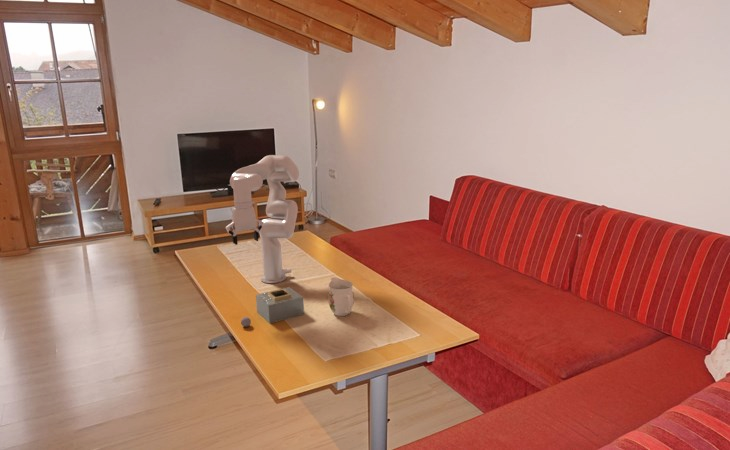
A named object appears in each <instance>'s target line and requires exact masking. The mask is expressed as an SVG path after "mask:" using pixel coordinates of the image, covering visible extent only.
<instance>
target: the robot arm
mask: <svg viewBox="0 0 730 450" xmlns="http://www.w3.org/2000/svg"><path fill="white" fill-rule="evenodd" d="M299 176H300V171H299V169H298V166H297V165H296V164H295V162H294V161H293V159H291V158H290V157H289V156H287V155H285V154H284V155H283V154H280V155H279V154H277V155H276V154H269V155H266V156H264V157H263V158H262V159H260V160H259V161H258V162H256V163H254V164H250V165H247V166H243V167H241V168H238V169H237V170H235V171H234V172H233V173H232V174H231V176H230V179H229V185H230V187H231V188H232V189H233V202H234V203H233V204H234V208H232V214H231V223H229V224H228V225H226V226H225V227H224V229H226V231H227V233H228V234H229V235H231V238H232V243H233V244H234V245H235V246H237V245H239V244H238V236H237V234H238V233H239V232H246V231H250V230H254V231H253V239H254V240H253V241H256V242H259V239H260V242H261V253H262V271H263V275H261V277H260V280H261V282H263V283H265V284H276V283H277V284H278V283H281V282H284V281H285V280H286V279H287V276H286V275H287V274H291V273H292V271H293V270H292V268H283V259H282V258H283V257H282V245H281V242H280V239H282V240H283V239H285V240H287V239H291V238H292V237H293V235H294V231H295V226H296V223H297V222H296V221H297V218H298V213H299V212H298V211H299V210H298V209H299V208H298V204H297V202H296V201H295V200H293V199H286V198H287V191H286V188H285V187H284V185H282V183H294V182H296V181H298V179H299ZM265 180H266V182H267V185H268V189H269V193H268V199H267V201H266V202H267V203H266V206H265V214H266V217H269V218H263V219H257V215H256V211H255V208H254V205H255V204H256V201H255V200H252V192H255V191H258V190H260V189H261V188H262V187H263V183H264V182H263V181H265ZM281 182H282V183H281ZM257 223H258V224H257ZM231 228H232V229H233V230H231Z"/></svg>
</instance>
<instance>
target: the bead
mask: <svg viewBox="0 0 730 450" xmlns="http://www.w3.org/2000/svg"><path fill="white" fill-rule="evenodd" d="M251 322H252V321H251V318H250V317H248V316H244V317H242V318H241V320H240V324H241V325H242V327H245V328H247V327H249V326H250V325H251V324H252V323H251Z"/></svg>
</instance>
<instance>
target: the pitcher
mask: <svg viewBox="0 0 730 450" xmlns="http://www.w3.org/2000/svg"><path fill="white" fill-rule="evenodd" d="M353 285H354V284H353V282H351V281H349V280H347V279H342V278H339V277H332V278H330V282H329V283H328V289H329V291H328V292H329V293H328V296H327V297H328V298H327V299H328V305H329V307H330V310H331V313H333V314H334V315H335V316H337V317H345V316H348V315H349V314H350V313H351V312H352V310H353V306H354V302H355V301H354V300H355V299H354V298H355V295H354V292H353V288H354V287H353Z"/></svg>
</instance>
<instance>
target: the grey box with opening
mask: <svg viewBox="0 0 730 450" xmlns="http://www.w3.org/2000/svg"><path fill="white" fill-rule="evenodd" d="M255 302H256V303H255V304H256V312H257V313H258V314H259V315H260V316H261V317H262V318H264V320H265V321H266V322H267V323H268V324H272V323H276V322H280V321H284V320H286V319H287V320H288V319H291V318H296V317H298V316H302V315H305V307H304V306H305V305H304V302H305V301H304V296H303V295H301V294H300V293H299V292H297V291H296V290H294V289H293V288H291V287H290V286H288V287H283V288H280V289H279V288H278V289H274V290H271V291H266V292H263V293H257V294H255Z"/></svg>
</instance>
